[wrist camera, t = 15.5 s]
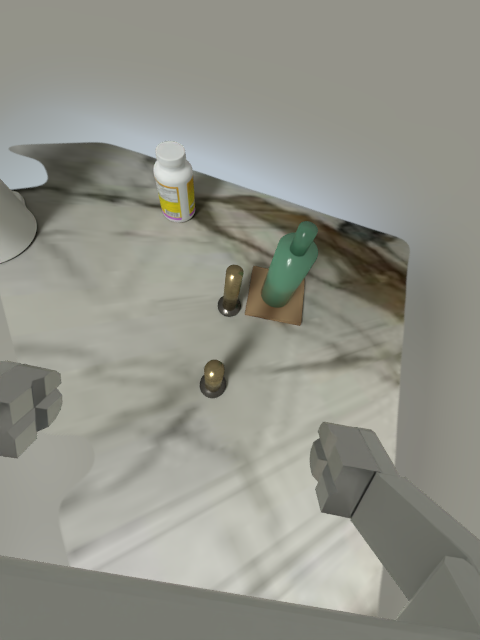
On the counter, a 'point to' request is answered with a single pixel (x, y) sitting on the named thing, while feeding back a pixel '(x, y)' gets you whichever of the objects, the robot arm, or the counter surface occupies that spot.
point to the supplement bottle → (174, 182)
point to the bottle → (290, 265)
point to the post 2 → (231, 291)
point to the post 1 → (213, 379)
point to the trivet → (262, 310)
